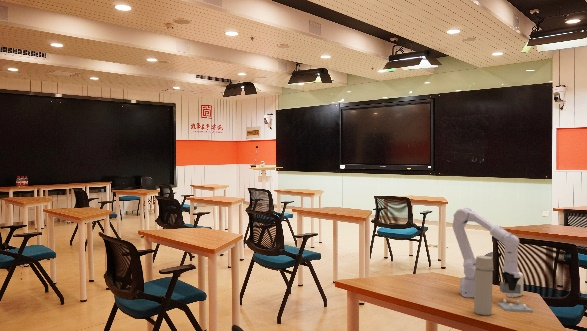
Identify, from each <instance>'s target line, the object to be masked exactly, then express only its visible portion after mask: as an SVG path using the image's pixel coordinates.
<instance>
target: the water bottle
mask: <svg viewBox="0 0 587 331" xmlns="http://www.w3.org/2000/svg"><path fill="white" fill-rule="evenodd" d="M475 259H476V265H475V267H476V269H475V295H474V297H473V298H474V299H473V300H474V303H473V307H474V308H473V311H474V313H475V314H477V315H480V316H484V317H485V316H486V317H487V316H490V315H492V311H493V310H492V308H493V271H495V269H494V260H493V259H494V258H493V257H492V256H488V255H487V256H486V255H477V256H476V257H475Z"/></svg>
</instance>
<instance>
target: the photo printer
mask: <svg viewBox="0 0 587 331" xmlns="http://www.w3.org/2000/svg"><path fill="white" fill-rule="evenodd" d="M518 273H519V277H520V279H519V280H518V282H517V283H518V284H520V285H521V292H520V294H518V293H505V294H506V296H507V297H508V298H517V297H520V296H523V295H524V278H525V277H524V274H523V272H518Z"/></svg>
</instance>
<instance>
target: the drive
mask: <svg viewBox="0 0 587 331" xmlns="http://www.w3.org/2000/svg"><path fill="white" fill-rule="evenodd" d="M499 291H500V292H501V293H503V294H506V293H518V294H520V292H521V285H520V284H518V283H517V285H516V288H515V291H512V290H510V289H509V283H507V282H504V281H503V282H502V281H500V282H499Z"/></svg>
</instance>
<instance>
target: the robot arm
mask: <svg viewBox="0 0 587 331" xmlns="http://www.w3.org/2000/svg"><path fill="white" fill-rule="evenodd" d="M469 222H474V223H477V224H478V225H479V226H481V227H482V228H484V229H486V230H488V231H489V234H490V235H491V236H492V237H494V238H495V239H496V240H498V241H499V242H500V243H502V244H503V246H504V259H503V260H504V262H503V266H502V268H501V269H502V271H501V273H500V274H501V276H502V278H503V282H507V283H509V289H510V290H512V291H515V288H516V285H517V282H518V280H519V279H520V277H519V273H518V272H520V271H521V270H519V269H518V264H519V263H518V257H519V254H518V253H519V250H518V249H519V247H518V246H519V245H520V239H519V238H518V236H517V235H516V234H512V232H508V231H507V230H506V229H504V228H503V226H501V225H498V224H497V225H493V224H492V223H491V222H490V221H488V220H487V219H486V218H484V217H482V216H481V215H480V214H479V213H478V212H477V211H475V210H472V209H471V208H469V207H465V208H459V209H457V210H456V211H455V212H454V214H453V220H452V229H453V232H454V233H453V234H454V236H455V238H456V241H457V243H458V247H459V250H460V252H461V256H462V259H463V263H462V264H463V265H462V266H463V274H464V276H465V277H460V280H459V292H458V293H459V294H460V295H461V296H462V297H463V298H474V295H475V269H476V267H475V265H476V257H475V255H474V252H473V250H472V246H471V244H470V242H469V238H468V235H467V233H466V232H467V231H466V230H465V226H466V225H467V223H469Z"/></svg>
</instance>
